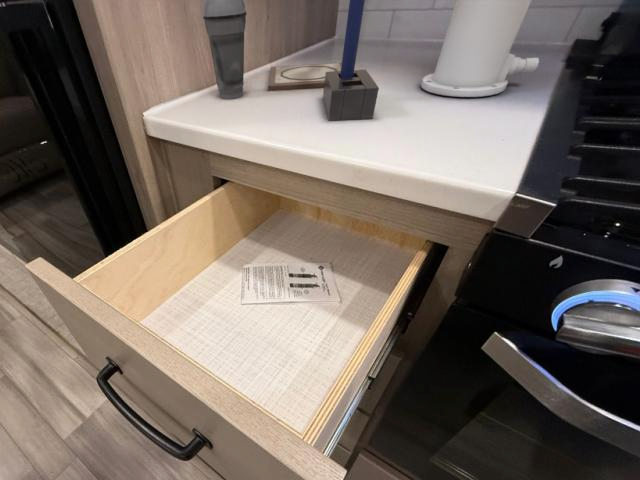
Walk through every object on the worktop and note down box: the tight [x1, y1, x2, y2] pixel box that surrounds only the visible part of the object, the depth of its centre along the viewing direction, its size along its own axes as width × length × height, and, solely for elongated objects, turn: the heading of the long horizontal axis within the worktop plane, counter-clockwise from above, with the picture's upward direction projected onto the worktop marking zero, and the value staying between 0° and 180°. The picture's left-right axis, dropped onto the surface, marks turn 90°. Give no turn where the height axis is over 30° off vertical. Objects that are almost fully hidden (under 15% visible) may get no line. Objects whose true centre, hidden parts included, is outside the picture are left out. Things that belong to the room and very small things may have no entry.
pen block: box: [322, 68, 380, 122], centre depth 50 cm, size 6×11×4 cm, turn 174°
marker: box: [340, 0, 366, 78], centre depth 48 cm, size 2×2×13 cm
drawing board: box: [267, 61, 342, 91], centre depth 66 cm, size 16×16×1 cm
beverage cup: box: [202, 0, 247, 100], centre depth 54 cm, size 7×7×20 cm
